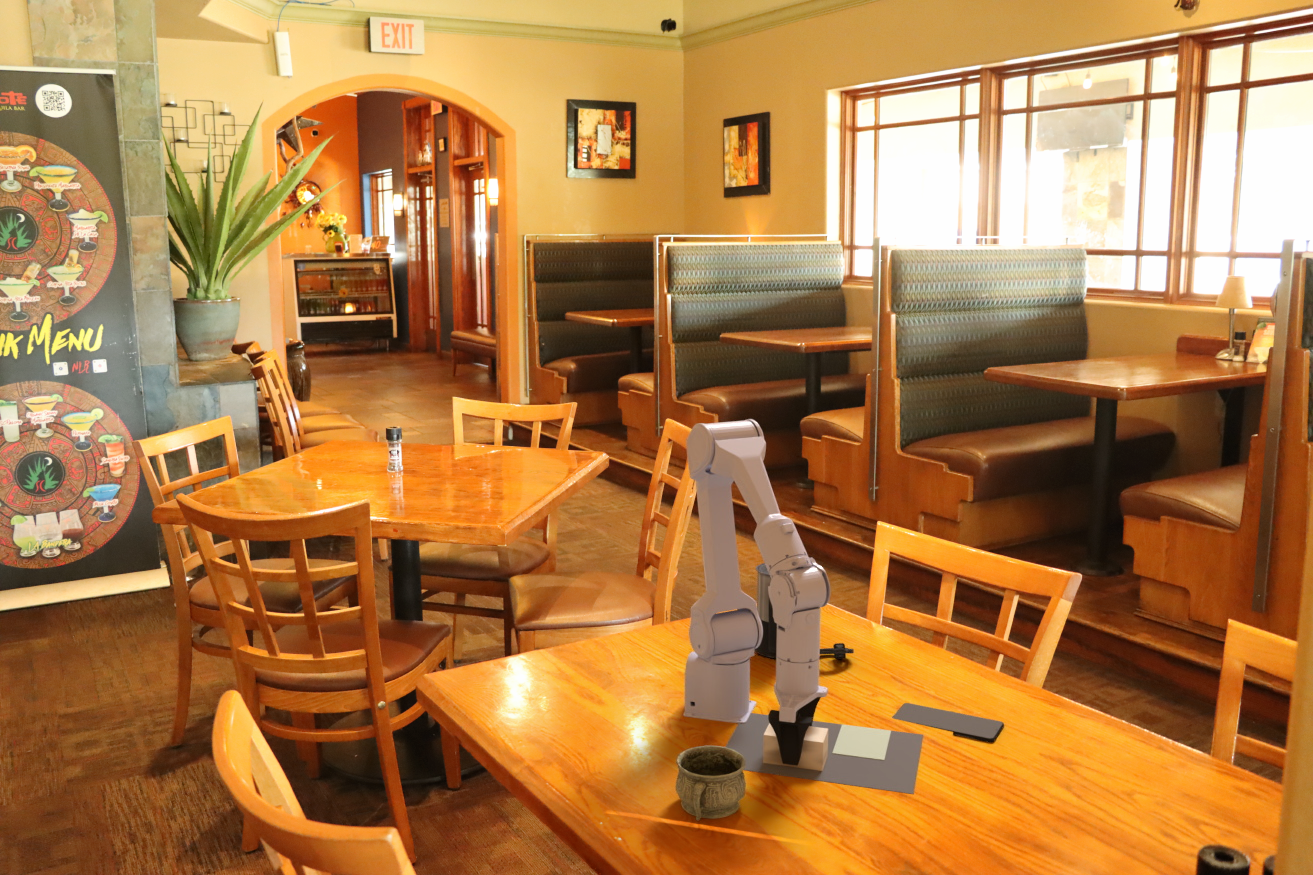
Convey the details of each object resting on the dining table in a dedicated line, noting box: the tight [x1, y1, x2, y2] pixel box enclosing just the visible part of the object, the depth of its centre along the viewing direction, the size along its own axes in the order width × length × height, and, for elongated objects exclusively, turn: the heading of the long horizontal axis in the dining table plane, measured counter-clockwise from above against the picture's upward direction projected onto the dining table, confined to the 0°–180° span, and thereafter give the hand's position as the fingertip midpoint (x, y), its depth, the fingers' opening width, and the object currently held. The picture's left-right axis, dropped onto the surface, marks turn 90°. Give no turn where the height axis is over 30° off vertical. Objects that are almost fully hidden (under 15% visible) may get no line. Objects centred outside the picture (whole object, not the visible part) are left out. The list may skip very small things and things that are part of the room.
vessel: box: [674, 745, 747, 821], centre depth 136 cm, size 12×9×6 cm
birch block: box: [763, 723, 828, 771], centre depth 148 cm, size 8×4×4 cm, turn 73°
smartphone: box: [891, 702, 1005, 744], centre depth 161 cm, size 7×1×15 cm
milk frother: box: [754, 562, 855, 660], centre depth 186 cm, size 14×16×15 cm
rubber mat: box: [724, 712, 924, 795], centre depth 151 cm, size 26×18×1 cm
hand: (795, 750), depth 148 cm, fingers open, 7 cm apart
